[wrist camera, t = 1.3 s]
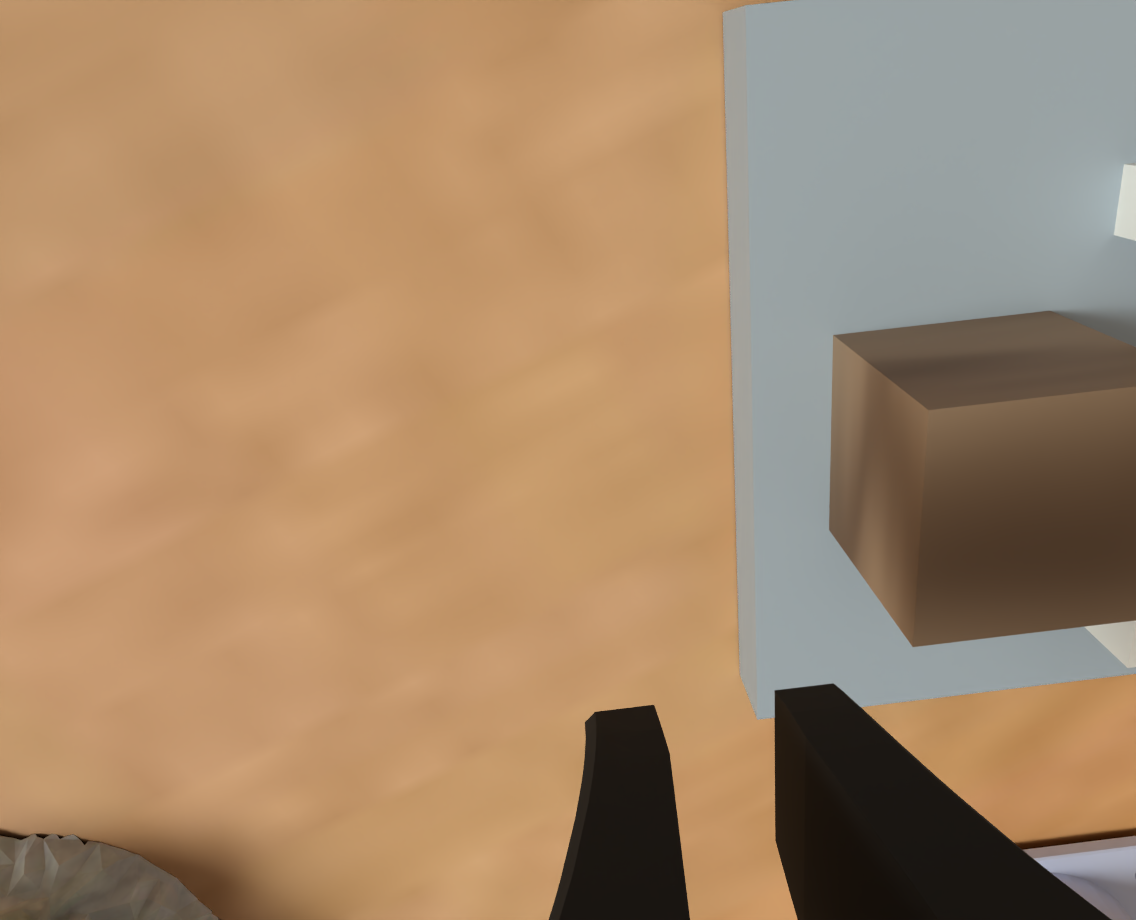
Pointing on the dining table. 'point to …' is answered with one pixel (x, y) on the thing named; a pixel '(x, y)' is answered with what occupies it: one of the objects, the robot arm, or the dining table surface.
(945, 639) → the block
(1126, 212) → the deck
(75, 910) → the ceramic cottage
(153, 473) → the dining table surface
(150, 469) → the dining table surface
